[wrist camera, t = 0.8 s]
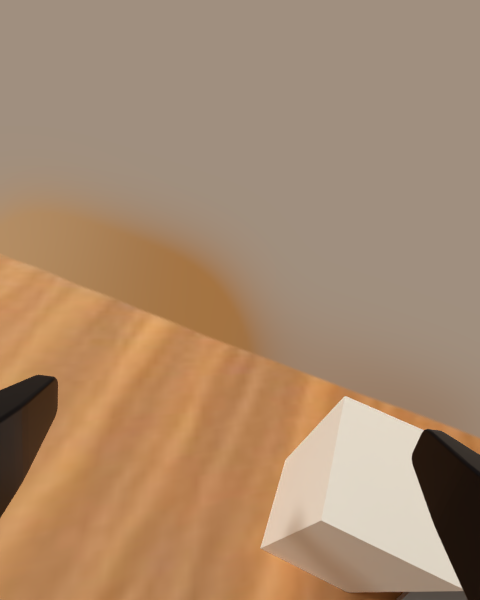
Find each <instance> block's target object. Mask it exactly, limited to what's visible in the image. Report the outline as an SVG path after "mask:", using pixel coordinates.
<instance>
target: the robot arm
mask: <svg viewBox="0 0 480 600" xmlns="http://www.w3.org/2000/svg"><path fill="white" fill-rule="evenodd" d="M57 406H58V381H57V379H56V378H55V377H52V376H44V375H36V376H33V377H31V378H28V379H26V380H24V381H21V382H19V383H16V384H14V385H12V386H9V387H7V388H5V389H2V390H0V517H1V516H2V514H3V513H4V511H5V509H6V508H7V506H8V505H9V503H10V502H11V500H12V498H13V497H14V495H15V494H16V492H17V490H18V489H19V487H20V485H21V484H22V482H23V480H24V478H25V476H26V474H27V473H28V471H29V469H30V467H31V465H32V463H33V461H34V459H35V457H36V454H37V452H38V450H39V448H40V446H41V444H42V442H43V440H44V438H45V436H46V434H47V432H48V430H49V428H50V426H51V424H52V422H53V420H54V418H55V415H56V412H57ZM412 464H413V467H414V470H415V473H416V476H417V479H418V482H419V484H420V487H421V490H422V493H423V496H424V499H425V501H426V504H427V507H428V510H429V513H430V516H431V518H432V521H433V524H434V526H435V529H436V531H437V533H438V536H439V538H440V540H441V542H442V545H443V547H444V549H445V551H446V553H447V556H448V558H449V560H450V562H451V564H452V567H453V569H454V571H455V573H456V576H457V578H458V580H459V582H460V584H461V587H462V589H463V591H464V593H465V595H466V598H467V600H480V455H479V454H477V453H476V452H474V451H473V450H471V449H469V448H468V447H466V446H465V445H463V444H462V443H460V442H458V441H457V440H455V439H454V438H452V437H451V436H449V435H447V434H446V433H444V432H442V431H438V430H431V429H426V430H424V431H423V432H422V433H421V435H420V438H419V440H418V442H417V444H416V446H415V448H414V451H413V453H412Z"/></svg>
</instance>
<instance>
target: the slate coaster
mask: <svg viewBox="0 0 480 600" xmlns="http://www.w3.org/2000/svg"><path fill="white" fill-rule="evenodd" d="M396 600H467V598H466V595H465V593H464V591H433V592H404V593H402V594H401V595H400V596H399V597H398V598H397V599H396Z"/></svg>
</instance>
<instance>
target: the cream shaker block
mask: <svg viewBox="0 0 480 600" xmlns="http://www.w3.org/2000/svg"><path fill="white" fill-rule="evenodd" d="M423 431H424V430H422V429H420V428H417V427H415V426H413V425H411V424H408V423H406V422H404V421H401V420H399V419H397V418H394V417H392V416H390V415H388V414H385V413H383V412H381V411H378V410H376V409H374V408H372V407H369V406H367V405H365V404H362V403H360V402H358V401H356V400H353V399H351V398H349V397H346V396H344V397H343V399H342V400H341V401H340V402H339V403H338V404H337V405H336V406H335V407H334V408H333V409H332V410H331V411H330V413H329V414H328V415H327V416H326V417H325V418H324V419H323V420H322V421H321V422H320V423H319V424H318V425H317V427H316V428H315V429H314V430H313V431H312V432H311V433H310V434H309V435H308V436H307V437H306V438H305V439H304V440H303V442H302V443H301V444H300V445H299V446H298V447H297V448H296V449H295V450H294V451H293V452H292V453H291V454H290V456H289V457H288V458H287V459H286V460H285V463H284V467H283V471H282V474H281V478H280V481H279V485H278V488H277V492H276V495H275V499H274V502H273V506H272V509H271V513H270V516H269V520H268V524H267V527H266V531H265V534H264V538H263V541H262V545H261V549H263V550H265V551H267V552H268V553H270V554H272V555H274V556H276V557H278V558H280V559H282V560H284V561H286V562H288V563H290V564H292V565H294V566H296V567H298V568H300V569H302V570H304V571H306V572H308V573H310V574H312V575H314V576H316V577H318V578H320V579H322V580H324V581H326V582H328V583H330V584H332V585H334V586H336V587H338V588H340V589H342V590H344V591H346V592H433V591H463V589H462V587H461V584H460V582H459V580H458V578H457V576H456V573H455V571H454V569H453V567H452V564H451V562H450V560H449V558H448V556H447V553H446V551H445V549H444V547H443V545H442V542H441V540H440V538H439V536H438V533H437V531H436V529H435V526H434V524H433V521H432V518H431V516H430V513H429V510H428V507H427V504H426V501H425V499H424V496H423V493H422V490H421V487H420V484H419V482H418V479H417V476H416V473H415V470H414V467H413V464H412V453H413V451H414V448H415V446H416V444H417V442H418V440H419V438H420V435H421V433H422V432H423Z"/></svg>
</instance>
